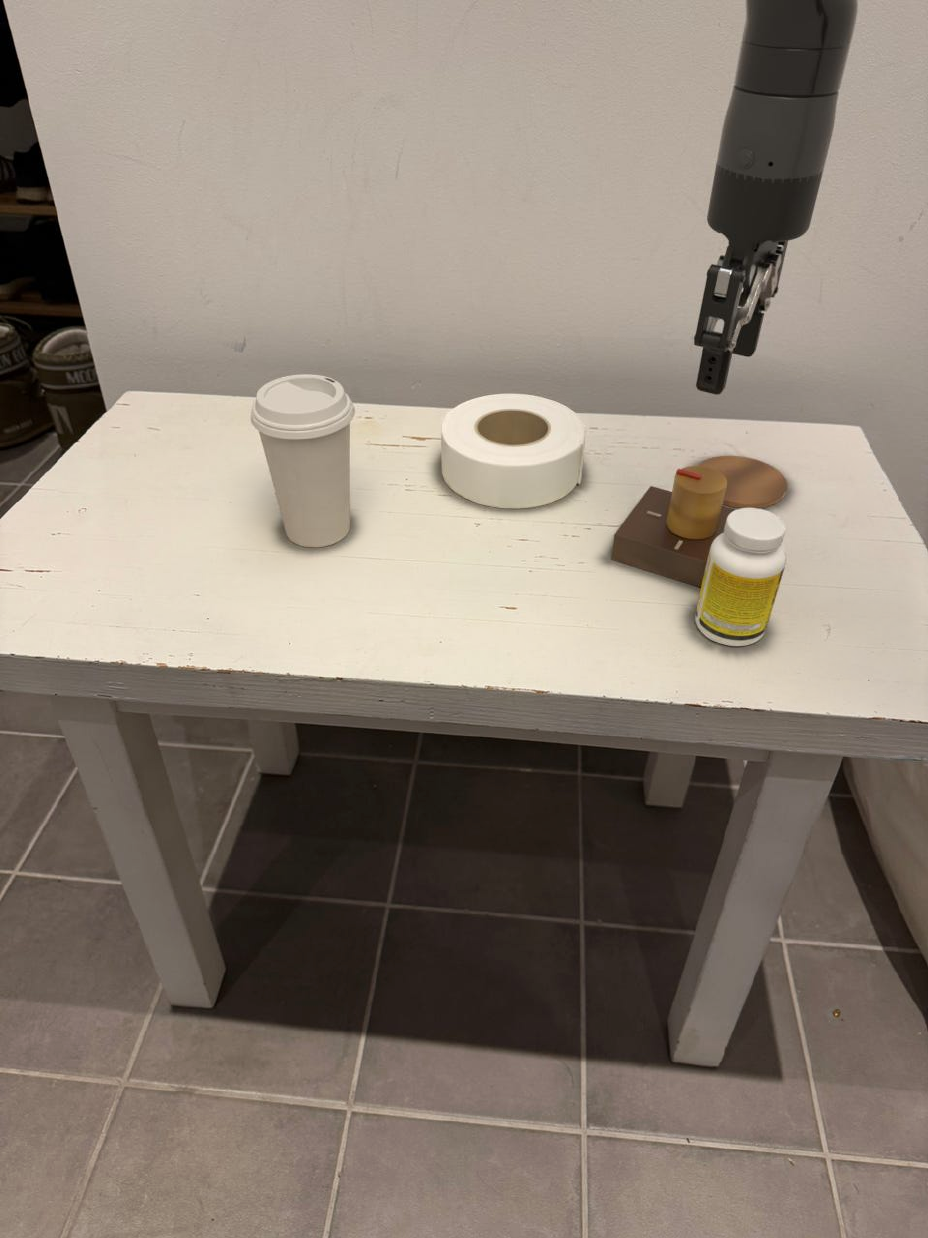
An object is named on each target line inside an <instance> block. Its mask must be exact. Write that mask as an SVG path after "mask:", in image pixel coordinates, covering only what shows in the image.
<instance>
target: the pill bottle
mask: <svg viewBox="0 0 928 1238" xmlns="http://www.w3.org/2000/svg"><path fill="white" fill-rule="evenodd" d="M786 529H787V527H786V524H785V522H784V521H783V520H782V518H781V517H779V516H778V515H777V514H775V513H774V512H771V511H769V510H766V509H763V508H737V509H735V511H733V512H731V513H730V514H729V515H728V517H727V520H726V524H725V528H724V533H722V534H720V535H719V536H718V537H716V538H715V540H714V541H713V543H712V545H711V548H710V551H709V555H708V560H707V564H706V568H705V573H704V577H703V581H702V586H701V587H700V590H699V595H698V598H697V599H698V600H697V605H696V609H695V615H694V619H695V624H696V626H697V628H698V629H699V631H700V632H701V634H703V635H704V636H705V637H706V638H707V639H709V640H711V641H713V642H716V643H718V644H720V645H721V644H722V645H725V646H730V647H743V646H744V647H745V646H748V645H749V646H750V645H752V644H754V643H755V644H756V643H757V642H759V641H760V640H761V639H762V638H763V636H764V635H765V633H766V630H767V628H768V625H769V621H770V618H771V615H772V611H773V608H774V604H775V601H776V598H777V595H778V592H779V589H780V585H781V581H782V578H783V575H784V571H785V568H786V564H787V554H786V550H785V548H784V546H783V545H782V544H783V542H784V538H785V534H786Z"/></svg>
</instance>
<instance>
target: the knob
mask: <svg viewBox="0 0 928 1238" xmlns="http://www.w3.org/2000/svg"><path fill="white" fill-rule="evenodd" d="M672 484H673V485H672V489H671V492H672V494H671V499H670V505H669V510H668V516H667V521H666V523H667V526H668V528H669V529H670V531H672V532H673V533H674V534H676V535H678V536H680V537H683V538H687V539H696V540H697V539H705V538H708V537H711V536H712V535H713V534H715V532H716V530H717V526H718V522H719V518H720V513H721V509H722V506H724V504H723V500H724V496H725V492H726V487H727V479H726V477H725V476H724V475H723V474H721V473H720V472H718V471H716V470H714V469H711V468H708V467H702V466H698V465H690V466H686V467H685V466H684V467H683V468H678V469H677V470H676V471H675V475H674V479H673V483H672Z"/></svg>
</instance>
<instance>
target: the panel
mask: <svg viewBox="0 0 928 1238" xmlns="http://www.w3.org/2000/svg"><path fill="white" fill-rule="evenodd" d="M671 494H672V490H671V491H670V490H668V489H664V488H660V487H656V486H653V485H650V486H649V487H648V489H647V490H646V492H644V494H643V495H642V496H641V498H640V499H639V501H638V502H637V503H636V505H635V506H634V507H633V509H632V510H631V511H630V512H629V514H628V515H627V516H626V518H625V519H624V521H623V522H621V525H620V526H619V527H618V528H617V529H616V530H615V531H616V532H614V534H613V540H612V548H611V554H610V555H611V556H610V560H613V561H617V562H618V563H622V564H624V565H629V566H632V567H634V568H638V569H641V570H644V571H648V572H650V573H654V574H657V575H659V576H662V577H663V576H664V577H666V578H668V579H669V578H670V579H672V580H675V581H679V582H682V583H685V584H688V585H691V586H695V587H698V588H701V586H702V581H703V577H704V573H705V568H706V564H707V560H708V555H709V551H710V548H711V545H712V543H713V541H714V540H715V538H716V537H718V536H719V535H720V534H722V533H724V528H725V524H726V520H727V517H728V515H729V514H730V513H731V512H733V511H735V510H736V509H735V508H733V507H729V506H726V505H722V509H721V513H720V518H719V522H718V526H717V530H716V532H715V534H713V535H712V536H711V537H708V538H705V539H697V540H696V539H687V538H683V537H680V536H678V535H676V534H674V533H673V532H672V531H670V529H669V528H668V526H667V523H666V521H667V516H668V510H669V505H670V499H671Z"/></svg>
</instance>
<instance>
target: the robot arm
mask: <svg viewBox="0 0 928 1238" xmlns="http://www.w3.org/2000/svg"><path fill="white" fill-rule="evenodd" d="M858 8H859V1H858V0H745V21H744V26H743V31H742V36H741V41H740V47H739V53H738V59H737V64H736V69H735V76H734V82H733V84H734V85H733V87H732V91H731V96H730V99H729V103H728V106H727V110H726V113H725V116H724V119H723V125H722V128H721V135H720V141H719V146H718V152H717V159H716V164H715V168H714V175H713V179H712V187H711V192H710V198H709V203H708V209H707V216H706V222H707V224H708V226H709V227H710V229H712V230H713V231H714V232H715V233H718V234H722V235H723V236H724V237H725V238H726V239H727V241H728V245H727V247H726V249H725V252H724V253H725V254H720V256H719V258H718V259H717V263H716V264H714V263H712V264H710V265H709V268H708V269H707V271H706V280H705V284H704V290H703V295H702V299H701V305H700V310H699V315H698V319H697V324H696V325H697V326H696V331H695V334H694V337H693V343H694V346H696V347H700V348H702V351H701V356H700V362H699V367H698V371H697V372H698V373H697V378H696V381H695V383H696V384H695V387H696V389H697V391H700V392H704V393H708V394H711V395H717V396H718V395H720V394H722V393H723V391H725V389H726V386H727V382H728V377H729V371H730V367H731V361H732V357H733V355H737V356H742V357H746V358H750V357H752V356H753V355H754V354H755V353H756V351H757V348H758V343H759V338H760V334H761V330H762V325H763V321H764V318H765V313H766V312H768V309H770V307H771V304H772V301H771V299H772V298H773V299H774V298H775V297H776V295H777V294H778V292H779V284H780V279H781V274H782V271H783V267H784V261H785V256H786V253H787V249H788V248H787V247H788V244H789V241H792V240H793V241H794V240H796V239H798V238H800V237H802V236H804V235H805V234H806V233H807V232H808V230H809V229H810V226H811V223H812V219H813V214H814V210H815V206H816V203H817V202H816V201H817V197H818V193H819V189H820V186H821V183H822V178H823V174H824V169H825V166H826V163H827V157H828V153H829V149H830V146H831V141H832V137H833V133H834V127H835V122H836V121H835V120H836V113H837V105H838V99H839V93H840V92H839V90H840V89H841V84H842V81H843V77H844V72H845V69H846V64H847V61H848V56H849V52H850V48H851V44H852V40H853V36H854V32H855V28H856V23H857V16H858ZM719 320H722V321H723V326H722V327H723V328H722V332H720V331H715V328H716V325H717V323H718V321H719Z"/></svg>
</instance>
